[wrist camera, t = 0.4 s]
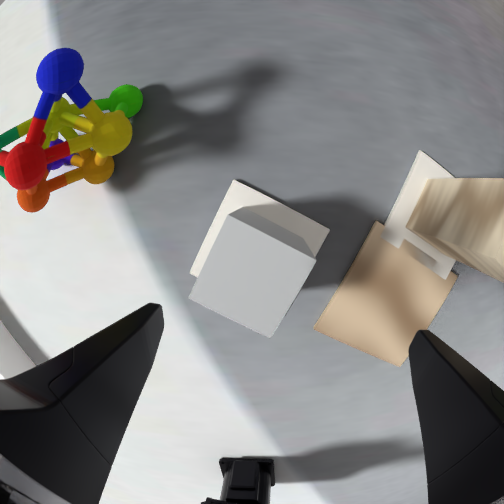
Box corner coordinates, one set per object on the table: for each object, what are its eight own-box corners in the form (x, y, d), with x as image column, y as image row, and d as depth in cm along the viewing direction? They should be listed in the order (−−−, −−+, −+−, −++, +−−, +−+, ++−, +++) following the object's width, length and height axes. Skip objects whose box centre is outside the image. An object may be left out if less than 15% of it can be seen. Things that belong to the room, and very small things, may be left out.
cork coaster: (398, 364, 23) (399, 366, 23) (313, 327, 23) (313, 329, 23) (455, 275, 21) (457, 276, 21) (375, 220, 21) (377, 221, 20)
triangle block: (-39, 246, 26) (-67, 255, 20) (64, 305, 25) (27, 329, 19) (-10, 389, 33) (-27, 404, 26) (88, 456, 32) (72, 480, 26)
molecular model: (143, 80, 20) (58, 26, 8) (168, 152, 21) (74, 129, 10) (51, 144, 22) (-40, 138, 10) (69, 209, 23) (-28, 229, 12)
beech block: (443, 254, 20) (530, 297, 10) (405, 227, 20) (495, 259, 10) (464, 209, 19) (556, 227, 9) (427, 179, 19) (523, 179, 9)
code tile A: (443, 278, 21) (445, 280, 21) (378, 236, 21) (379, 236, 21) (478, 201, 20) (481, 202, 19) (418, 150, 19) (420, 150, 19)
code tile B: (279, 316, 23) (279, 318, 23) (190, 271, 23) (189, 272, 22) (329, 229, 21) (330, 229, 21) (234, 179, 21) (233, 179, 21)
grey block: (271, 294, 22) (270, 338, 15) (213, 265, 22) (188, 298, 15) (303, 238, 21) (316, 260, 14) (242, 206, 21) (227, 214, 14)
